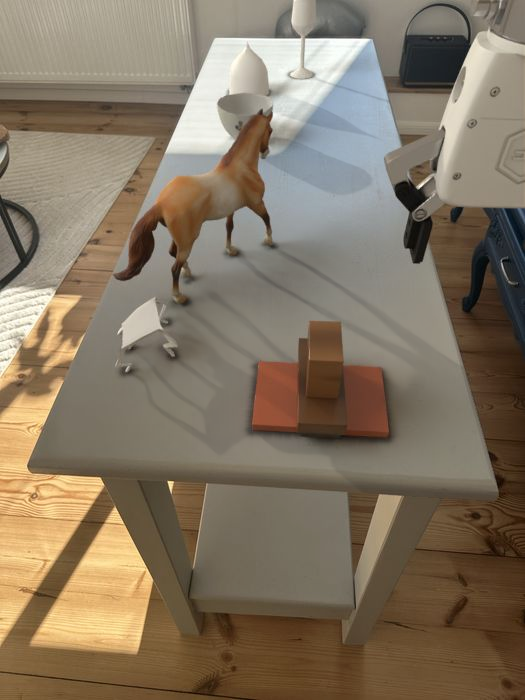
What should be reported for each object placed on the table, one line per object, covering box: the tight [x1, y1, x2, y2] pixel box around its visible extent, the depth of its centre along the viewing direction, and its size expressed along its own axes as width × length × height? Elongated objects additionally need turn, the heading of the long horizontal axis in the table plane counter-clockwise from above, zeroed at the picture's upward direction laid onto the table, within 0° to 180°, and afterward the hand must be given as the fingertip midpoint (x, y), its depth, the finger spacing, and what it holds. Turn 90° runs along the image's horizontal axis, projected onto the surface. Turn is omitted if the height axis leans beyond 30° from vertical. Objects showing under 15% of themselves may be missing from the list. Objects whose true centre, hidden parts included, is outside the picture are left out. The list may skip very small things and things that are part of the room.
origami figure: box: [114, 296, 179, 373], centre depth 66 cm, size 12×8×5 cm
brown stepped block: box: [296, 320, 347, 439], centre depth 56 cm, size 13×5×10 cm, turn 177°
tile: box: [251, 360, 390, 438], centre depth 60 cm, size 16×10×1 cm, turn 86°
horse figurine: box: [111, 109, 274, 305], centre depth 71 cm, size 31×8×21 cm, turn 134°
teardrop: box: [228, 41, 270, 97], centre depth 127 cm, size 11×11×12 cm
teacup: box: [216, 92, 274, 142], centre depth 110 cm, size 15×12×8 cm
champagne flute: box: [289, 0, 317, 80], centre depth 131 cm, size 7×7×24 cm
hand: (472, 255), depth 41 cm, fingers open, 9 cm apart
